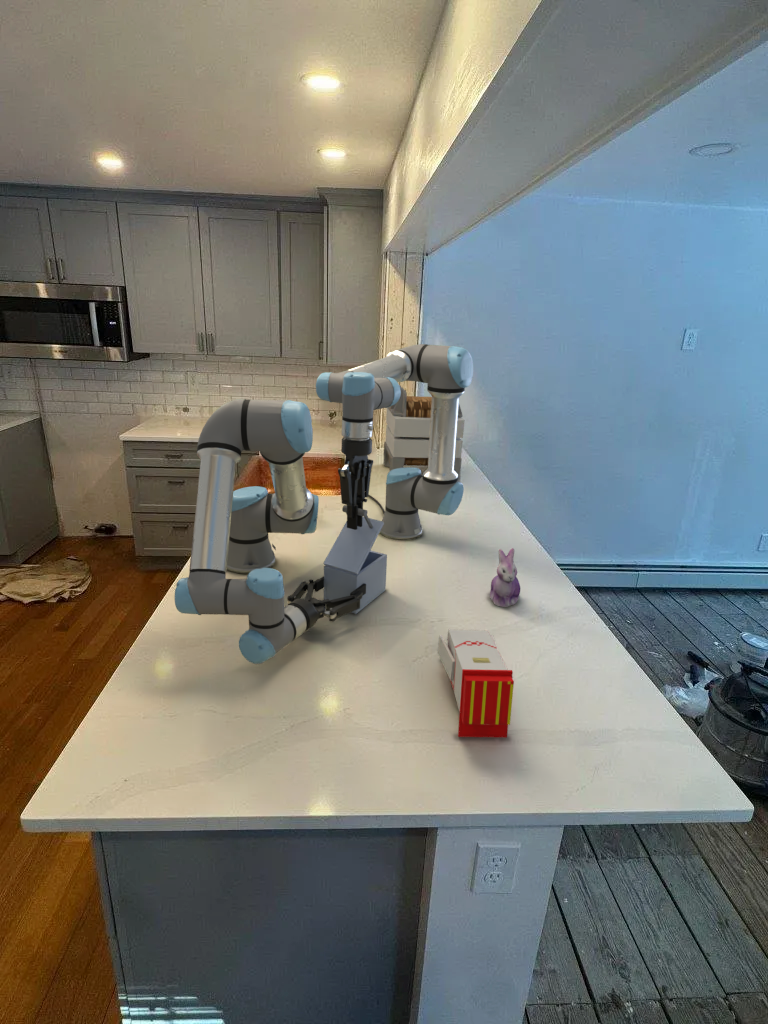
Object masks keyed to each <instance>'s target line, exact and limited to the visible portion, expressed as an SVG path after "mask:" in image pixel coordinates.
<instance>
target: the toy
mask: <svg viewBox="0 0 768 1024" xmlns="http://www.w3.org/2000/svg"><path fill="white" fill-rule="evenodd" d="M446 640H447V643H446V641H445V639H444V636H443V635H442V634H439V637H438V646H437V656H438V657H439V659H440V661H441V663H442V666H443V668H444V670H445V672H446V674H447V677H448V679H449V681H450V684H451V687H452V690H453V693H454V697H455V701H456V705H457V708H458V711H459V714H458V715H459V716H458V730H457V731H458V732H457V737H458V738H508V731H509V726H510V725H511V717H512V707H513V697H514V696H513V695H514V684H515V680H514V679H513V673H514V671H513V670H512V669H508V667H507V665H506V662H505V661H504V659H503V658H502V655H501V653H500V651H499V649H498V647H497V643H496V639H495V637H494V635H493V634H491V632H490V631H489V629H467V628H466V629H465V628H463V629H461V628H460V629H459V628H448V630H447V639H446Z"/></svg>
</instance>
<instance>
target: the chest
mask: <svg viewBox="0 0 768 1024" xmlns="http://www.w3.org/2000/svg"><path fill="white" fill-rule="evenodd" d="M387 563H388V554H386V553H383V552H378V551H375V550H372V549H371V550H370V552H369V554H368V556H367V558H366V560H365V561H364V563H363V565H362V567H361V569H360V571H359V573H358V575H356V574H353V573H350V572H346V571H343V570H339V569H336V568H333V567H329V566H326V565H324V566H323V576H324V588H323V600H325V599H329V600H333V599H337V598H342V597H346V596H350V593H351V592H352V591H354V590H355V589H357V588H358V587H359V586H361V585H362V584H366V594H364V595H363V596H362V599H360V609H357V610H355V611H353V612H350V613H352V614H355V615H357V614H358V613H359V612H360V611H362V610H364V608H366V607H367V606H368V605H369V604H371V602H373V601H374V600H375V599H377V598H378V597H379V596H380V595H382V594H383V593H384V592H385V591H386V589H387V567H388V564H387Z"/></svg>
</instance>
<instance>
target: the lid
mask: <svg viewBox="0 0 768 1024" xmlns="http://www.w3.org/2000/svg"><path fill="white" fill-rule="evenodd" d="M341 509H342V512H343V513H345V514H346V515H347V505H345V504H343V505H342V508H341ZM358 515H359V516H363V518H362V527H358V526H357V529H356V530H354V529H350V528H347V520H346V521H345V523H344V524H343V526H342V528H341V530H340V532H339V534H338V535H337V537H336V539H335V541H334V542H333V545H332V546H331V548H330V550H329V552H328V554H327V556H326V557H325V558H324V561H323V565H324V566H325V565H326V566H329V567H333V568H336V569H339V570H343V571H346V572H350V573H353V574H356V575H358V573H359V571H360V569H361V567H362V565H363V563H364V561H365V560H366V558H367V556H368V554H369V552H370V550H372V548H373V546H374V544H375V542H376V540H377V538H378V536H379V534H380V530H381V528H382V527H383V525H384V522H383V521H382V520H379V519H375V518H370V517H369V515H368V510H367V509H365V508H363V509H360V508H358Z"/></svg>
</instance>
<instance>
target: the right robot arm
mask: <svg viewBox="0 0 768 1024" xmlns="http://www.w3.org/2000/svg"><path fill="white" fill-rule="evenodd" d="M473 378H474V362H473V358H472V355H471V353H470V352H469V350H468V349H466V348H465V347H460V346H455V345H441V344H426V343H419V344H413V345H408V346H405V347H402V348H399V349H395V350H393V351H390V352H389V353H388V354H387V355H386V356H385V357H382V358H380V359H376V360H373V361H371V362H368V363H364V364H362V365H359V366H356V367H352V368H350V369H347V370H343V371H340V372H332V371H330V372H322V373H320V374H319V375H318V377H317V379H316V380H315V381H316V382H315V393H316V395H317V397H318V398H319V399H320V400H322V401H326V402H329V403H336V404H337V403H338V404H342V416H341V436H342V438H341V449H340V451H341V453H342V454H344V456H345V459H344V461H343V463H344V465H343V467H339V468H338V469H337V473H338V477H339V485H340V500H341V504H342V505H347V514H346V521H347V528H350V529H354V530H356V529H357V526H358V527H362V518H363V516H359V515H358V508H360V509H364V503H367V502H368V499H367V498H370V499H371V500H372V501H374V502H375V503H376V504H377V505H378V506H379V508H380V510H381V511H382V514H383V515H382V519H381V521H383V522H384V525H383V527H382V528H381V530H380V532H379V534H380V535H381V536H382V537H385V538H387V539H389V540H395V541H410V540H415V539H418V538H420V537H421V536H422V535H423V525H422V524H421V518H420V515H419V510H421V511H425V512H429V513H433V514H436V515H442V516H452V515H453V514H454V513H456V511H457V510H458V508H459V506H460V504H461V502H462V500H463V496H464V493H465V492H464V491H465V489H464V484H463V483H462V482H461V481H460V482H458V474H457V473H456V472H455V471H454V461H455V447H456V434H457V420H458V407H459V405H460V397H461V396H462V395H463V394H464V393H465V391H466V388H468V387H469V386H470V385H471V384H472V382H473V381H472V379H473ZM403 382H417V383H423V384H427V387H426V388H427V389H426V391H427V392H428V393H429V395H430V397H432V401H431V419H430V437H429V455H428V466H427V468H426V470H424V471H423V472H422V470H421V468H419V467H413V466H411V467H409V466H406V467H404V468H397V469H393V470H391V471H390V470H389V471H388V473H387V475H386V480H385V504H384V505H385V507H384V508H385V509H384V508H383V506H382V504H381V503H380V502H379V501H378V500H377V499H376V498H375V497H373V496H372V495H371V494H370V493H369V492H370V487H371V486H370V485H371V476H372V469H373V466H374V460H373V459H370V458H369V456H370V455H371V454H372V452H373V439H372V437H373V430H374V425H373V424H374V423H373V422H374V411H376V410H381V409H387V407H390V406H392V405H394V404H396V403H397V402H398V400H399V398H400V395H401V390H400V386H401V385H400V384H399V383H403ZM399 385H400V386H399Z"/></svg>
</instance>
